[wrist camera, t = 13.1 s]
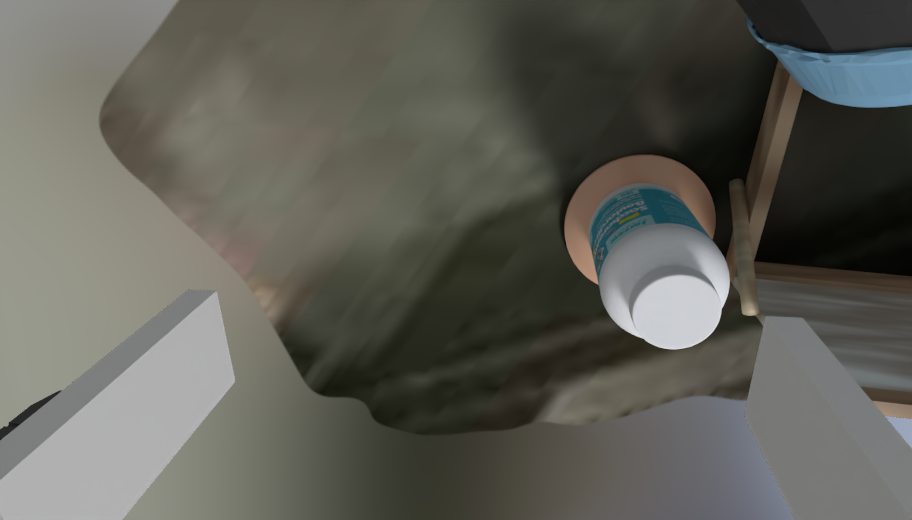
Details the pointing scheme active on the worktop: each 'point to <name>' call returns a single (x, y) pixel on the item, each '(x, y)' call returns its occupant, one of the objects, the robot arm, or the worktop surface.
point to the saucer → (627, 173)
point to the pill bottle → (657, 266)
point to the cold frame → (820, 276)
